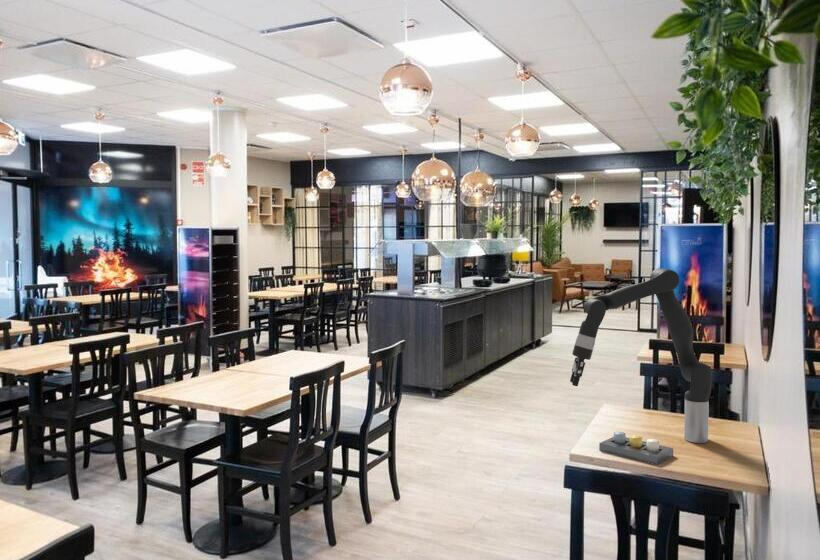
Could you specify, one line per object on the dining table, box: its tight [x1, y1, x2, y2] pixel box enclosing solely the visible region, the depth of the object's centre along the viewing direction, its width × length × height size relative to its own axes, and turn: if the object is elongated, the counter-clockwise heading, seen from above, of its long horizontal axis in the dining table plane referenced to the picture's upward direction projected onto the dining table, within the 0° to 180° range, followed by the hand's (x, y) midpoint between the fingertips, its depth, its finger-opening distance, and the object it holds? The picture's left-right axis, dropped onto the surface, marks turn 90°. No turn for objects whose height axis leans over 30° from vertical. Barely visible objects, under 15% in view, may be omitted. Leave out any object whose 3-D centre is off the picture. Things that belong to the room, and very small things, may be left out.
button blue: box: [613, 431, 627, 445], centre depth 258 cm, size 5×5×4 cm
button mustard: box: [629, 434, 643, 449], centre depth 253 cm, size 5×5×4 cm
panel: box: [598, 436, 674, 466], centre depth 253 cm, size 14×24×3 cm, turn 43°
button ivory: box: [646, 438, 660, 453], centre depth 248 cm, size 5×5×4 cm
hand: (573, 384), depth 262 cm, fingers open, 8 cm apart
